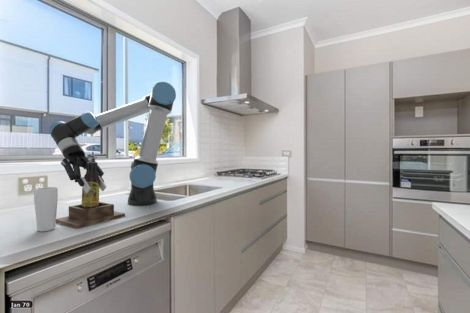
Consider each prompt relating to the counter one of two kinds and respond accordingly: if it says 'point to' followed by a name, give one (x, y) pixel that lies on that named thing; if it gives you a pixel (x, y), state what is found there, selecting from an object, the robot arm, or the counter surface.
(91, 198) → the sauce bottle
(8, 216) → the counter surface
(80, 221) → the walnut bottle holder
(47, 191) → the drinking glass
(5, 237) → the counter surface
